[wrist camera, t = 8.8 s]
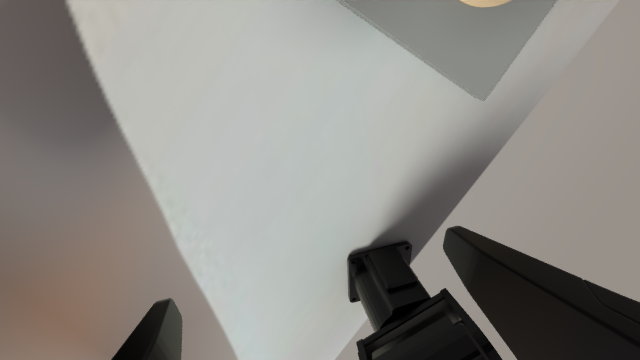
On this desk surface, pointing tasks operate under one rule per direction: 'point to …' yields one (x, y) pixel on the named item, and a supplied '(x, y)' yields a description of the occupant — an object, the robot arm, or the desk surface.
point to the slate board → (458, 34)
